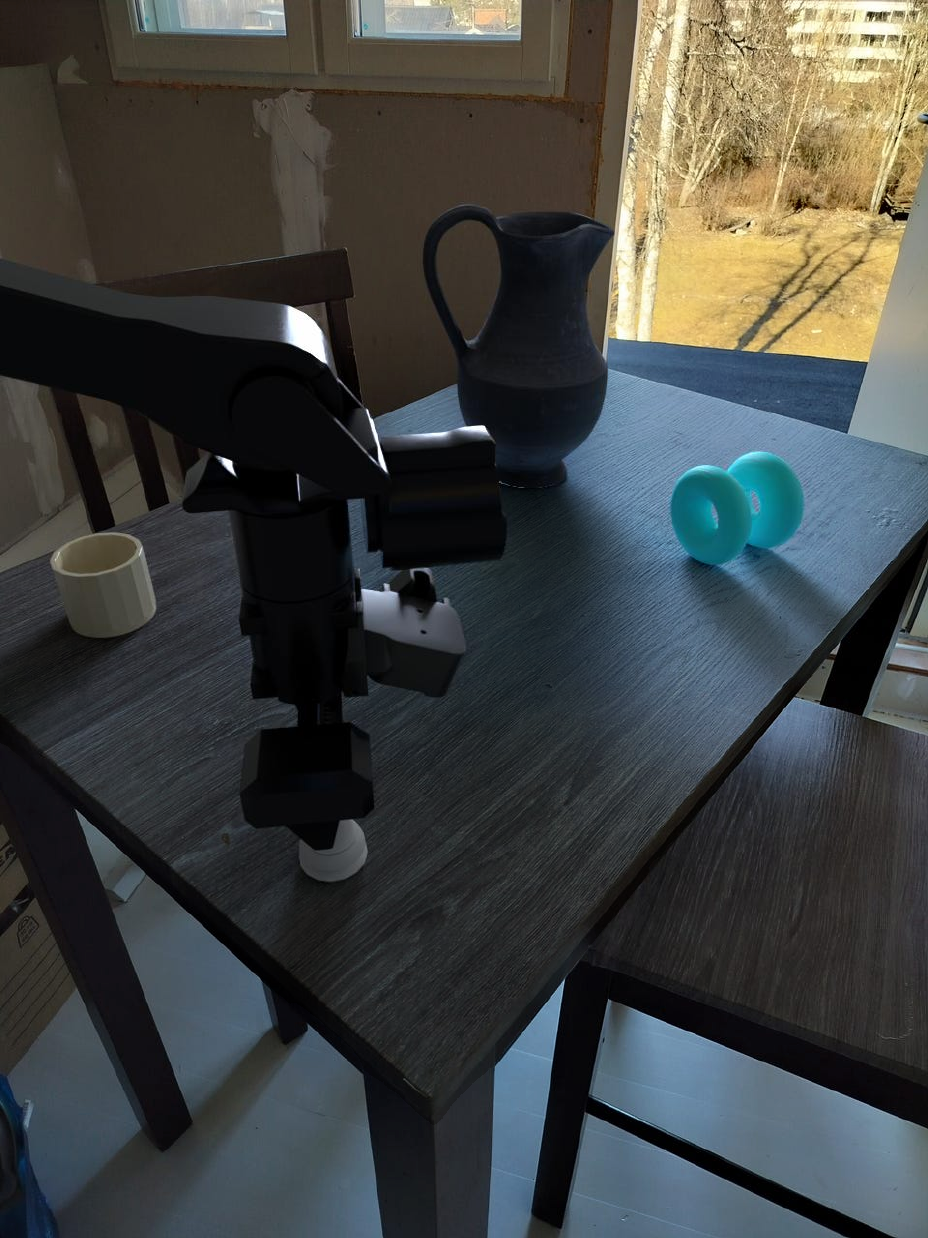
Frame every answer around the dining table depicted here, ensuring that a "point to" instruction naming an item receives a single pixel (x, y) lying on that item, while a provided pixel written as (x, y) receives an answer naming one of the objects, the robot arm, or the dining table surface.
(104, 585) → the cup
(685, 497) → the donuts
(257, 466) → the robot arm
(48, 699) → the dining table surface
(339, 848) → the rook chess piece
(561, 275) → the pitcher
